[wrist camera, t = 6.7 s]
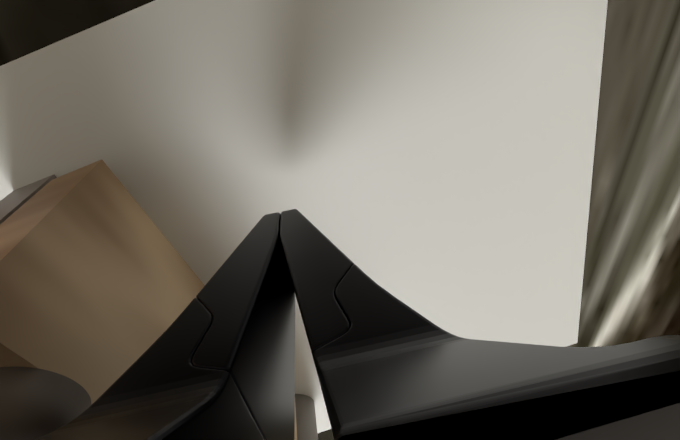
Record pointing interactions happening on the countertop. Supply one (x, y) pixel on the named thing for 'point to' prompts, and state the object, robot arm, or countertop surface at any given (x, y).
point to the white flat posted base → (341, 144)
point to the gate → (80, 298)
